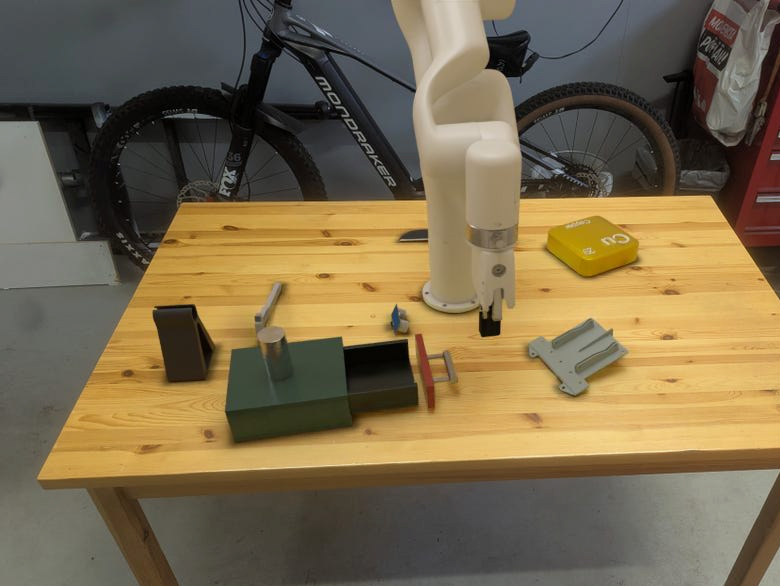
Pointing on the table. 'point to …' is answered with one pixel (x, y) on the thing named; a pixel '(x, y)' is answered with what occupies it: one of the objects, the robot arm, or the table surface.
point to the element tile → (592, 245)
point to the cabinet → (288, 392)
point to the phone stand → (183, 342)
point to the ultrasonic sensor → (399, 320)
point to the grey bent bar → (267, 309)
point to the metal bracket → (578, 353)
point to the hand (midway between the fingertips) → (489, 333)
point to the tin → (275, 353)
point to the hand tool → (415, 235)
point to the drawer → (390, 375)
